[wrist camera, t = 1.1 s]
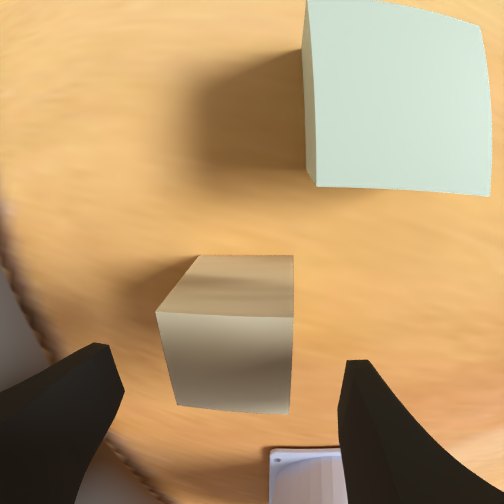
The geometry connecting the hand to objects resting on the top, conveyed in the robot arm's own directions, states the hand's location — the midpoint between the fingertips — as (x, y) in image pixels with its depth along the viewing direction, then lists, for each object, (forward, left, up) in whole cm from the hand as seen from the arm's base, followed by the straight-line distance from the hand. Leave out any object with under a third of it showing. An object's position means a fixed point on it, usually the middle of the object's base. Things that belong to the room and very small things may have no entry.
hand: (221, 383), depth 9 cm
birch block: (0, 0, -6) cm, 6 cm away
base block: (+8, -5, -6) cm, 11 cm away
